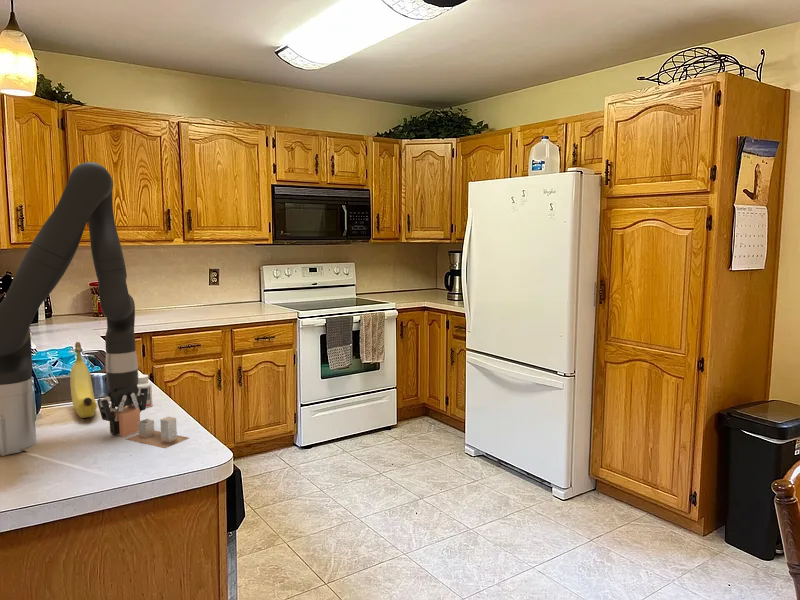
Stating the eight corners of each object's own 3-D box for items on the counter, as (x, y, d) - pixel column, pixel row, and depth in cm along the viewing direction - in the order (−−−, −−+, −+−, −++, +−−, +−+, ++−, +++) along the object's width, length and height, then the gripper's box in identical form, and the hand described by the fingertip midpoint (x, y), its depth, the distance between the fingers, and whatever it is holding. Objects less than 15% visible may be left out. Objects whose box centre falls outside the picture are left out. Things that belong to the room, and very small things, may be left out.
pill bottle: (136, 404, 180) (135, 374, 179) (154, 404, 181) (153, 373, 180) (130, 410, 175) (128, 378, 174) (149, 409, 175) (147, 378, 174)
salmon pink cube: (123, 439, 150) (122, 414, 150) (110, 436, 153) (108, 411, 152) (140, 432, 155) (139, 408, 154) (127, 430, 157) (125, 406, 157)
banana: (101, 422, 164) (96, 352, 161) (77, 426, 161) (72, 354, 158) (91, 402, 182) (87, 340, 180) (70, 405, 179) (66, 342, 177)
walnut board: (165, 451, 142) (165, 448, 142) (125, 442, 148) (125, 439, 148) (190, 440, 149) (190, 437, 149) (151, 432, 155) (151, 429, 155)
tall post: (168, 443, 145) (167, 420, 144) (161, 441, 146) (160, 419, 146) (177, 440, 147) (176, 417, 147) (169, 438, 149) (168, 416, 148)
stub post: (146, 438, 149) (145, 423, 148) (139, 436, 150) (138, 421, 149) (154, 435, 151) (153, 420, 150) (147, 433, 152) (146, 419, 152)
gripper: (107, 375, 144) (111, 442, 146) (154, 364, 157) (157, 425, 159) (87, 372, 147) (91, 437, 149) (135, 361, 160) (138, 421, 162)
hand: (125, 430), depth 154 cm, fingers closed on salmon pink cube, 5 cm apart
